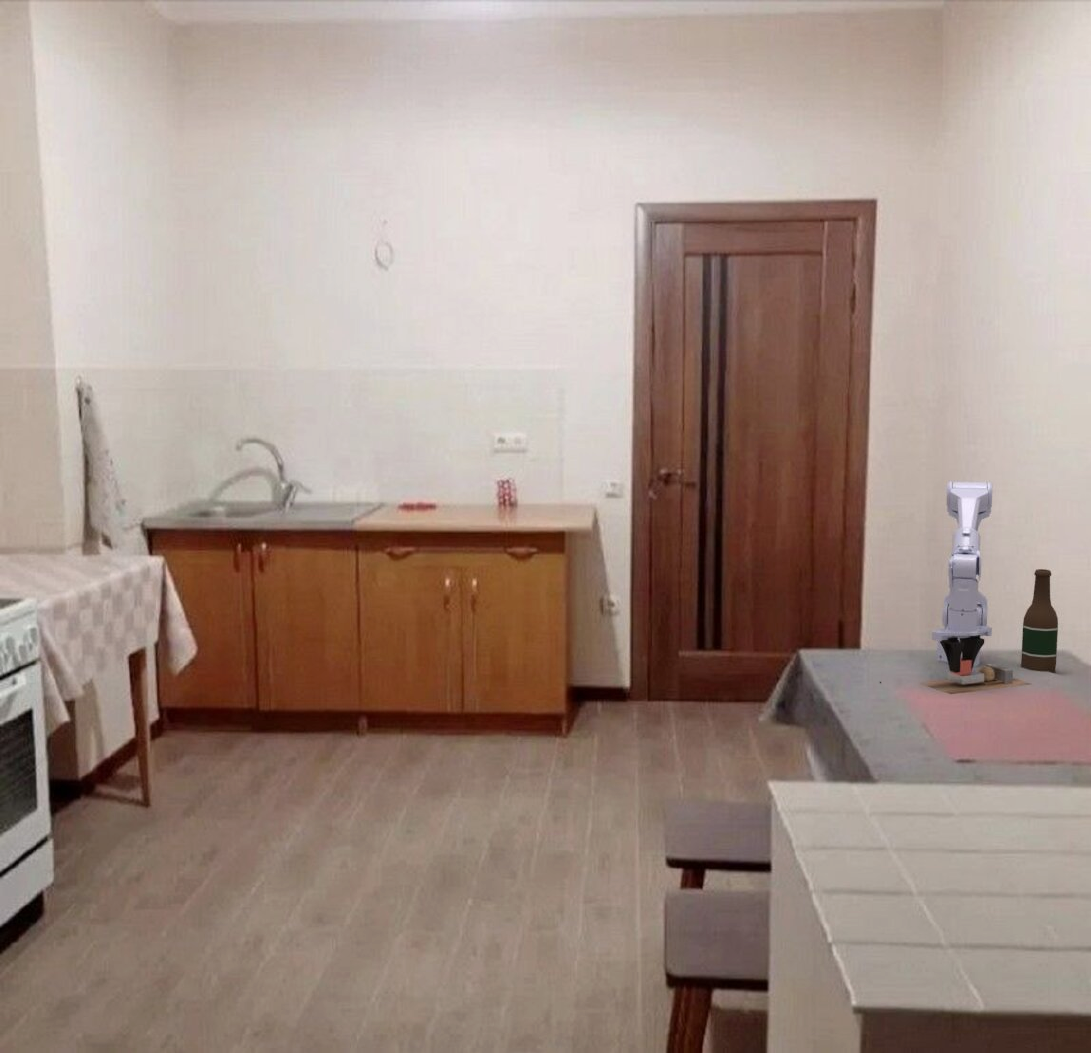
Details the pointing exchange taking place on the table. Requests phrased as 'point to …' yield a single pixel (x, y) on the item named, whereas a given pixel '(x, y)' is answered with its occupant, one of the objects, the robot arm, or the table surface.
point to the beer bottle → (1040, 628)
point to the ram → (966, 673)
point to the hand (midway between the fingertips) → (960, 670)
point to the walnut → (987, 673)
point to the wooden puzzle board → (1000, 681)
